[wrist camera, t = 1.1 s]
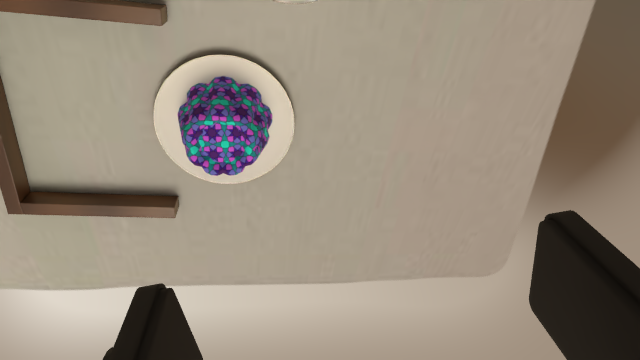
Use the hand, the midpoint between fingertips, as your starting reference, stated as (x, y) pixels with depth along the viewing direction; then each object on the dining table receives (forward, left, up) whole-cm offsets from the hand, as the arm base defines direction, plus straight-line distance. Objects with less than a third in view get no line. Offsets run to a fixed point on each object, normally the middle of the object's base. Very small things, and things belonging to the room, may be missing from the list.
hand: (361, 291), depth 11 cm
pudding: (-5, -7, -28) cm, 30 cm away
